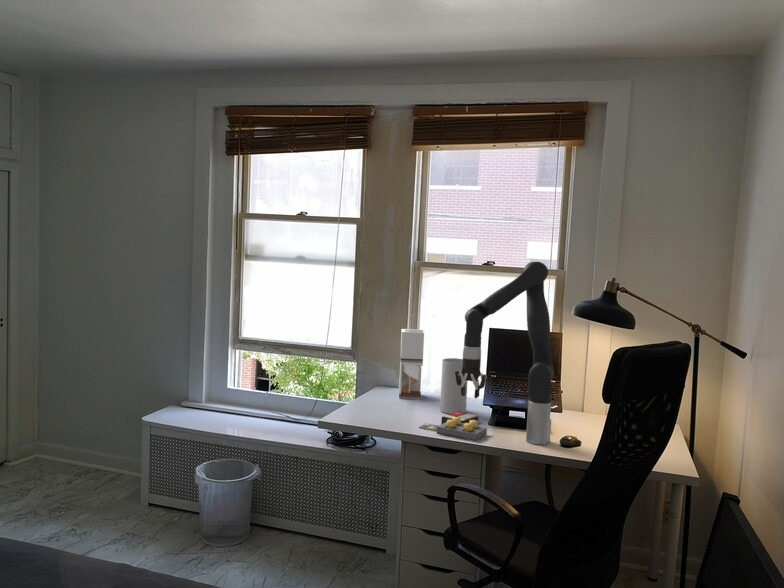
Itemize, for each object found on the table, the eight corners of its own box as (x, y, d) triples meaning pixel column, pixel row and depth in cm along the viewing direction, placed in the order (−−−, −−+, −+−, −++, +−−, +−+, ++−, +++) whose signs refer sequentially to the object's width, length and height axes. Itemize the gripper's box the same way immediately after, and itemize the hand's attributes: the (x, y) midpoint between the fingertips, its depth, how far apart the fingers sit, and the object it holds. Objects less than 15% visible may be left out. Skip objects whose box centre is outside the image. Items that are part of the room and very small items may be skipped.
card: (442, 427, 287) (442, 425, 287) (435, 431, 281) (435, 429, 281) (426, 424, 291) (426, 422, 291) (418, 427, 285) (418, 426, 285)
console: (486, 434, 279) (487, 427, 279) (475, 441, 269) (476, 434, 268) (448, 427, 288) (449, 420, 288) (436, 433, 278) (436, 426, 277)
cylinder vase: (470, 414, 312) (473, 362, 310) (447, 415, 307) (449, 363, 305) (458, 407, 324) (460, 357, 322) (435, 408, 319) (438, 358, 317)
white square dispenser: (399, 398, 337) (402, 331, 334) (398, 393, 347) (401, 328, 345) (421, 399, 337) (424, 332, 334) (420, 394, 348) (423, 329, 345)
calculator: (479, 415, 298) (462, 419, 286) (478, 424, 298) (462, 429, 286) (458, 410, 305) (441, 415, 293) (457, 419, 305) (440, 424, 293)
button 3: (473, 430, 274) (474, 423, 274) (470, 432, 271) (470, 425, 271) (465, 429, 276) (466, 422, 276) (462, 431, 273) (462, 424, 273)
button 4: (478, 427, 279) (479, 421, 279) (475, 429, 276) (475, 422, 276) (471, 426, 281) (471, 419, 281) (467, 428, 278) (468, 421, 278)
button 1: (456, 427, 278) (456, 420, 278) (452, 429, 275) (453, 422, 275) (448, 426, 280) (449, 419, 280) (445, 427, 277) (445, 420, 277)
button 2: (461, 424, 283) (462, 417, 283) (458, 426, 280) (458, 419, 280) (454, 423, 285) (454, 416, 285) (450, 424, 282) (451, 418, 282)
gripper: (491, 357, 271) (489, 397, 272) (459, 353, 278) (457, 392, 279) (484, 360, 264) (482, 401, 266) (452, 355, 272) (450, 395, 273)
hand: (469, 396), depth 273 cm, fingers open, 5 cm apart
